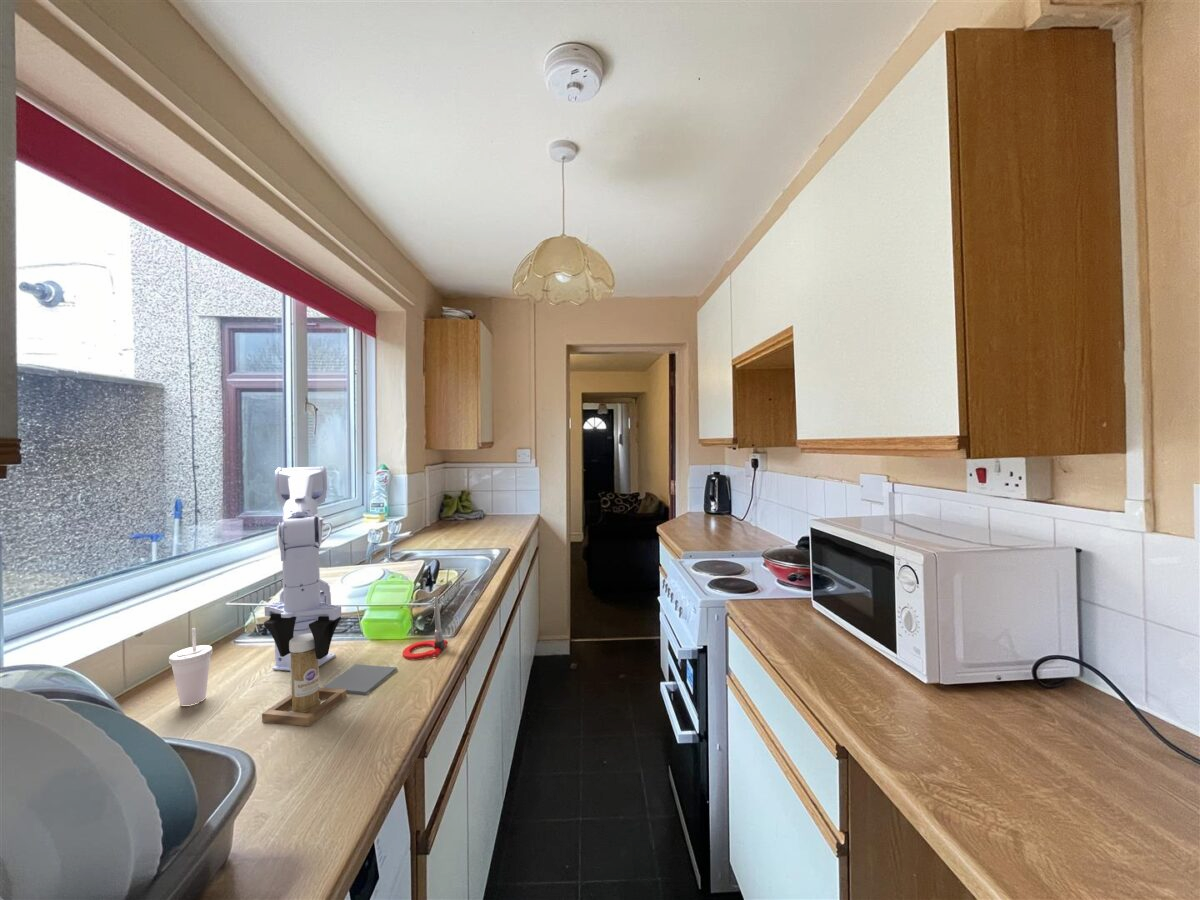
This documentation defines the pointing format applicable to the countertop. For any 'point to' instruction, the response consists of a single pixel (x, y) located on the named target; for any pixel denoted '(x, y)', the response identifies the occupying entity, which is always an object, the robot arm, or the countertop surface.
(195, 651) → the smoothie
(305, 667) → the sprinkles bottle
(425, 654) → the tow hook
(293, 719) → the collar
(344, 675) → the coaster
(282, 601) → the robot arm
